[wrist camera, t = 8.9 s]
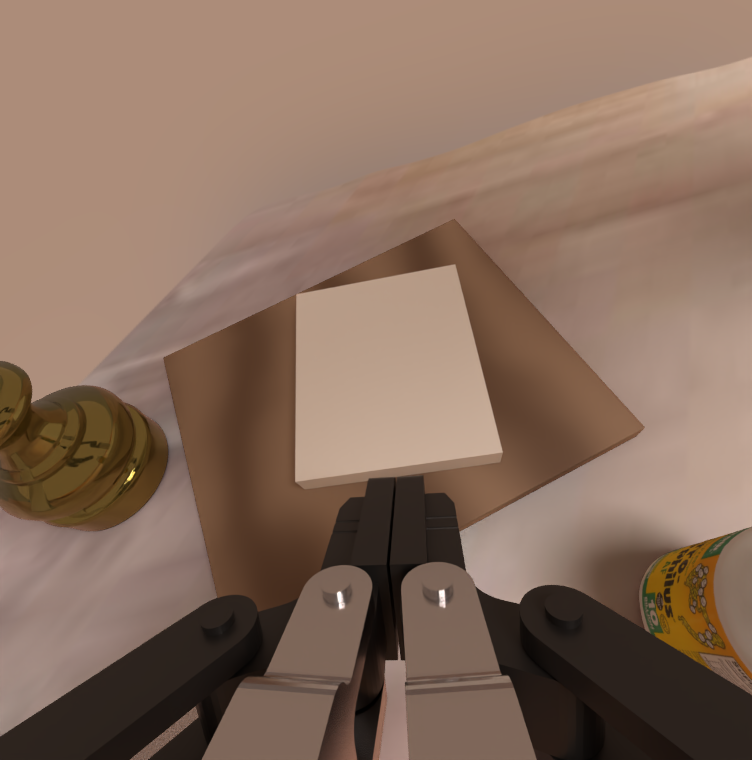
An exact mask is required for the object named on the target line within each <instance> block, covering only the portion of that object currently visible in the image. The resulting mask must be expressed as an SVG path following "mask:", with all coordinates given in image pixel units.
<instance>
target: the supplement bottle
mask: <svg viewBox="0 0 752 760" xmlns="http://www.w3.org/2000/svg"><path fill="white" fill-rule="evenodd" d="M639 603H640V610H641V616H642V621H643V624H644V628H645V630H646V631H647V632H649V633H651V634H652V635H654V636H655V637H657V638H659V639H660V640H662V641H664V642H665V643H667V644H669V645H670V646H672V647H674V648H675V649H677V650H679V651H680V652H682V653H684V654H685V655H687V656H689V657H690V658H692V659H694V660H695V661H697V662H698V663H700V664H702V665H703V666H705V667H707V668H708V669H710V670H712V671H713V672H715V673H717V674H718V675H720V676H722V677H723V678H725V679H727V680H728V681H730V682H732V683H733V684H735V685H736V686H738V687H740V688H741V689H743V690H745V691H746V692H748V693H750V694H751V695H752V527H750V528H747V529H743V530H740V531H737V532H734V533H731V534H727V535H724V536H721V537H717V538H714V539H710V540H707V541H704V542H701V543H698V544H694V545H691V546H688V547H684V548H680V549H678V550H674V551H672V552H669V553H666V554H664V555H662V556H660V557H659V558H658V559H656V560H655V561H654V562H653V563H652V564H651V565H650V566H649V568H648V569H647V571H646V572H645V574H644V576H643V579H642V581H641V584H640V589H639Z"/></svg>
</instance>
